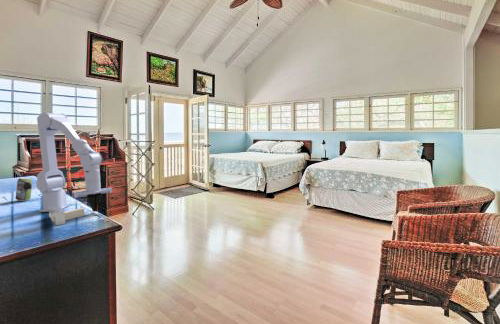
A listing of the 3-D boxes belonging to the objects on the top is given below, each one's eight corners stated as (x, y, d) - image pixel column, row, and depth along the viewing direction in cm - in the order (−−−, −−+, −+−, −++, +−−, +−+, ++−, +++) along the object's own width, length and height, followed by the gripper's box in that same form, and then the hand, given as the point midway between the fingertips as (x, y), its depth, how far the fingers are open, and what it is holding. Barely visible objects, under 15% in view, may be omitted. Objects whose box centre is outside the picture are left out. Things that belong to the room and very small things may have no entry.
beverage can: (15, 200, 140) (13, 177, 139) (33, 198, 146) (31, 176, 144) (16, 202, 136) (13, 179, 135) (34, 200, 141) (32, 177, 140)
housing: (49, 217, 113) (48, 206, 112) (58, 215, 115) (57, 204, 114) (56, 225, 103) (55, 213, 102) (65, 223, 105) (64, 211, 104)
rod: (55, 223, 106) (54, 215, 106) (51, 221, 108) (51, 214, 108) (84, 216, 115) (84, 209, 115) (81, 214, 117) (80, 208, 117)
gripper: (75, 183, 109) (78, 216, 110) (113, 179, 119) (115, 209, 121) (71, 181, 114) (73, 212, 115) (108, 177, 124) (110, 206, 126)
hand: (94, 210), depth 118 cm, fingers closed
